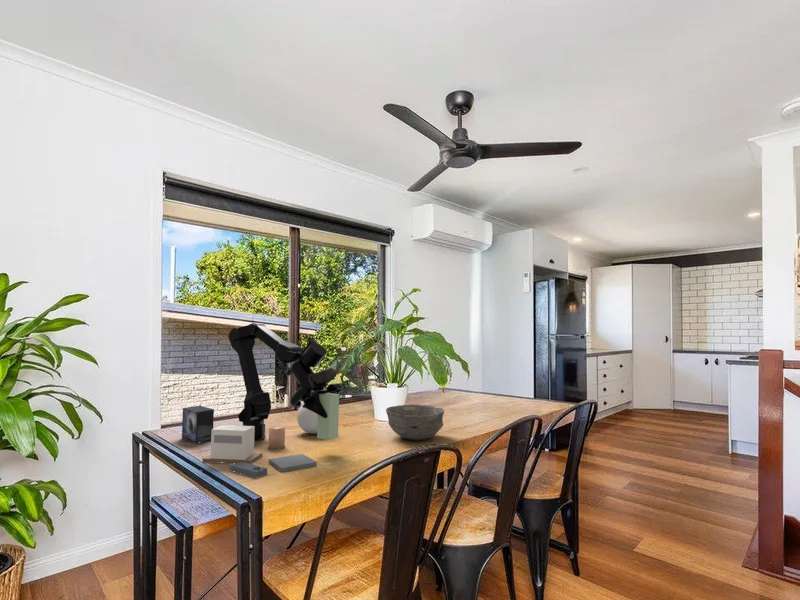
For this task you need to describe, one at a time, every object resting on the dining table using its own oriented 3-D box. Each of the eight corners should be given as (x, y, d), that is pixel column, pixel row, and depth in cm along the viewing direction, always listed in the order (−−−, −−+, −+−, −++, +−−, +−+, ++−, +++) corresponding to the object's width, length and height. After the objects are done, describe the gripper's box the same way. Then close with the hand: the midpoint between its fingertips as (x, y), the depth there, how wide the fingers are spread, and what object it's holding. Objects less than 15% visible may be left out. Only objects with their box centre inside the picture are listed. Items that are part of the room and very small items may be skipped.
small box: (180, 438, 150) (181, 407, 151) (198, 435, 155) (200, 405, 156) (194, 444, 143) (196, 411, 144) (213, 440, 148) (215, 408, 149)
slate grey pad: (268, 462, 124) (268, 458, 124) (302, 457, 130) (302, 453, 130) (281, 472, 116) (281, 468, 116) (316, 465, 122) (316, 461, 122)
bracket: (241, 468, 120) (241, 461, 120) (267, 475, 114) (267, 467, 114) (229, 472, 117) (229, 464, 117) (255, 480, 111) (255, 472, 111)
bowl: (377, 442, 148) (378, 412, 149) (394, 429, 168) (394, 403, 169) (438, 447, 143) (438, 416, 143) (448, 433, 162) (448, 406, 163)
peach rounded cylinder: (265, 448, 139) (266, 429, 139) (272, 444, 144) (272, 425, 144) (281, 449, 138) (281, 429, 139) (286, 445, 143) (287, 426, 144)
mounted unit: (202, 462, 124) (203, 429, 124) (217, 454, 132) (218, 423, 132) (250, 464, 122) (251, 431, 123) (262, 456, 130) (263, 425, 131)
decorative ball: (331, 429, 167) (332, 397, 167) (328, 437, 155) (329, 402, 156) (299, 429, 166) (300, 397, 167) (294, 437, 154) (295, 402, 155)
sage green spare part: (317, 438, 134) (318, 394, 135) (326, 435, 138) (327, 393, 138) (328, 440, 131) (329, 396, 132) (338, 437, 135) (339, 394, 136)
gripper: (298, 361, 130) (326, 403, 124) (338, 358, 146) (365, 395, 140) (278, 386, 134) (304, 427, 127) (320, 380, 150) (344, 417, 143)
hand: (331, 416), depth 134 cm, fingers closed on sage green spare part, 4 cm apart
